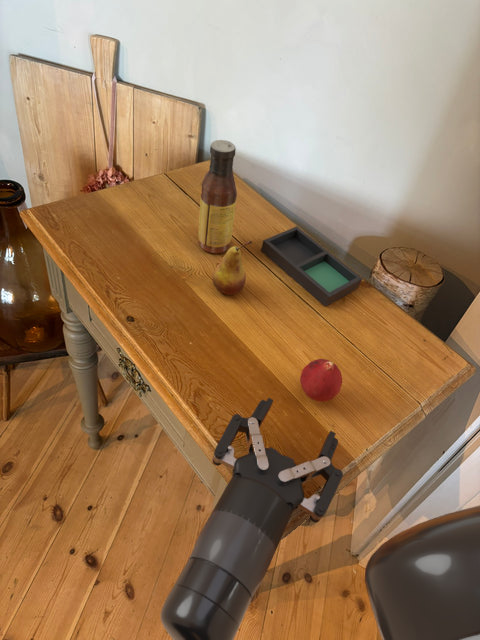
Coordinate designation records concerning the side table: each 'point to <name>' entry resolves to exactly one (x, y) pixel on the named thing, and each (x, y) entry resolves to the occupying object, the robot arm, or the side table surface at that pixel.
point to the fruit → (230, 272)
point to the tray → (311, 265)
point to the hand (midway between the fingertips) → (299, 418)
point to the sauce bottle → (218, 199)
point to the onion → (321, 380)
